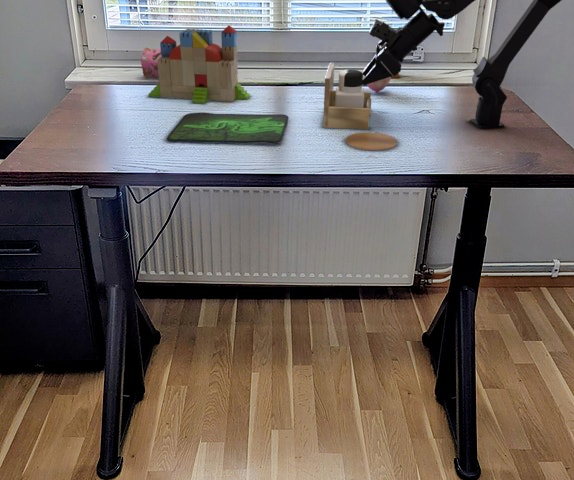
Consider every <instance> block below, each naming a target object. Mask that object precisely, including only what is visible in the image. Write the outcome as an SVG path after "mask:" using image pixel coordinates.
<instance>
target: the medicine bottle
mask: <svg viewBox="0 0 574 480" xmlns="http://www.w3.org/2000/svg"><path fill="white" fill-rule="evenodd" d="M362 80H363V71H361V70H359V69H343V70H341V71H340V72H339V73H338V85H337V87H336V89H335V90H336V95H335V107H353V108H363V105H364V91H365V88H364V87H363V84H362Z"/></svg>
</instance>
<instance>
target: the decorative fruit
mask: <svg viewBox="0 0 574 480" xmlns="http://www.w3.org/2000/svg"><path fill="white" fill-rule="evenodd" d="M368 65H369V63H367V64H366V65H365V66H364V68H363V71H362V73H363V72H364V70H365V69H366V68H367V66H368ZM365 77H366V76H364V75H363V79H364V78H365ZM391 79H392V78H391V77H388V78H385V79H382V80H379V81H376V82H373V83H370V84H367V85H366V87H367V88H369V89H370V90H372V91H374V92H375V93H379V92H382V90H384V89H385V88H386V87H387V86H388V85H389V83H390V81H391Z"/></svg>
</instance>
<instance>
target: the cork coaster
mask: <svg viewBox="0 0 574 480" xmlns="http://www.w3.org/2000/svg"><path fill="white" fill-rule="evenodd" d="M345 143H346V144H347V145H348V146H349V147H351V148H354V149H357V150H361V151H362V150H363V151H373V152H374V151H375V152H376V151H379V152H380V151H386V150H392V149H393V148H394V149H395V147H397V145H398V140H397V139H396V137H394V136H391V135H390V134H389V135H388V134H385V133H380V132H357V133H356V132H355V133H353V134H350V135H348V136H347V137H346V138H345Z"/></svg>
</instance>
